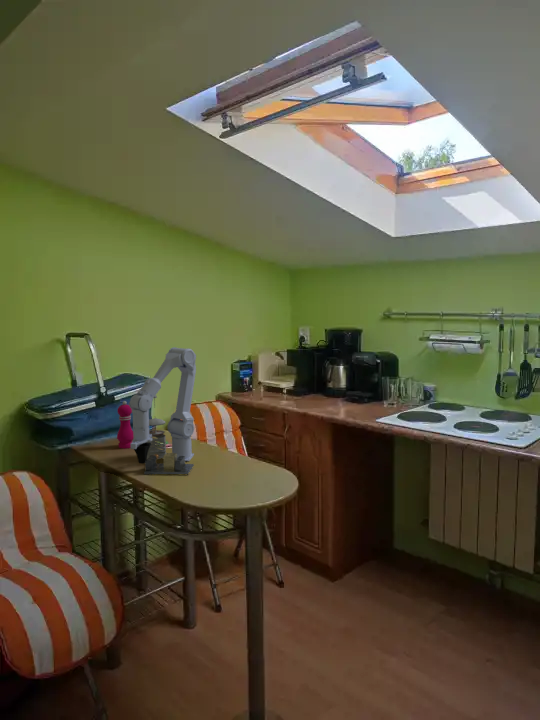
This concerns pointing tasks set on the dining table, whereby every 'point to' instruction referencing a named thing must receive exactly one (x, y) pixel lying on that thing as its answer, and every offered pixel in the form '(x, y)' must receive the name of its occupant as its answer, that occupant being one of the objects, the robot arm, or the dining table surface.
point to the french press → (157, 438)
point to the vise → (179, 469)
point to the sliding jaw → (151, 462)
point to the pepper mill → (125, 426)
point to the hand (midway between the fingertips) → (142, 462)
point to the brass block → (170, 461)
